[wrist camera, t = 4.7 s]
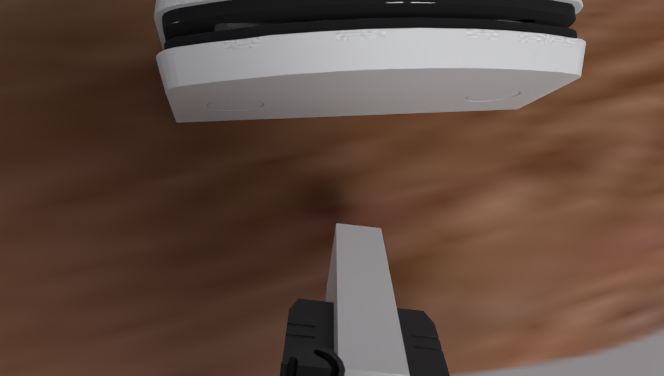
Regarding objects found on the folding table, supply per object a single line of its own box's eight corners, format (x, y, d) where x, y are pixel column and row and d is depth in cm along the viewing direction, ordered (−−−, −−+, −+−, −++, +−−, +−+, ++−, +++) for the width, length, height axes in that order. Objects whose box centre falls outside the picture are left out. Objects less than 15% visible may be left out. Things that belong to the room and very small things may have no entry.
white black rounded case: (500, 24, 26) (643, -87, 16) (506, 115, 26) (654, 59, 16) (171, 30, 24) (99, -93, 14) (177, 128, 24) (108, 75, 14)
